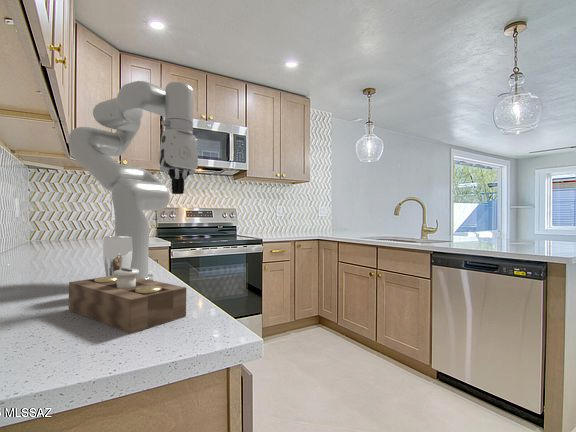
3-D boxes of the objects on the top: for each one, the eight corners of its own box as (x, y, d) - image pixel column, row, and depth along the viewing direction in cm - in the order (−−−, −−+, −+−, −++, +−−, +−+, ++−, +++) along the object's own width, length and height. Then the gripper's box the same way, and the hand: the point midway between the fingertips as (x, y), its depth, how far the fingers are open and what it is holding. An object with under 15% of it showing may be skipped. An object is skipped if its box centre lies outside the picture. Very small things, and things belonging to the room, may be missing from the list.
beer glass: (100, 297, 81) (101, 237, 81) (103, 291, 87) (104, 235, 87) (131, 295, 84) (132, 237, 83) (132, 289, 90) (133, 235, 90)
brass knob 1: (89, 305, 72) (90, 278, 72) (111, 300, 76) (111, 275, 76) (100, 309, 70) (101, 281, 70) (122, 304, 74) (122, 278, 74)
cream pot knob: (108, 299, 68) (109, 269, 68) (130, 294, 72) (131, 266, 72) (121, 303, 65) (121, 271, 65) (143, 298, 69) (143, 268, 69)
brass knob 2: (129, 318, 64) (130, 288, 64) (151, 313, 68) (152, 284, 68) (144, 323, 61) (144, 292, 61) (166, 317, 65) (166, 287, 65)
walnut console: (68, 309, 70) (69, 282, 70) (122, 298, 80) (122, 274, 80) (130, 333, 57) (131, 299, 57) (186, 316, 67) (186, 287, 67)
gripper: (163, 120, 83) (162, 191, 83) (208, 133, 95) (207, 195, 95) (146, 124, 87) (145, 192, 87) (191, 136, 99) (190, 195, 99)
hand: (177, 193), depth 91 cm, fingers closed
